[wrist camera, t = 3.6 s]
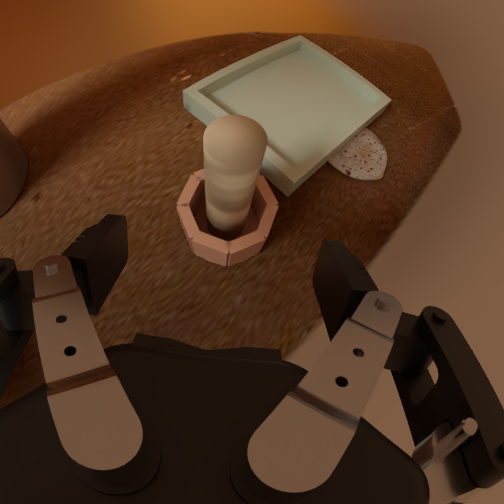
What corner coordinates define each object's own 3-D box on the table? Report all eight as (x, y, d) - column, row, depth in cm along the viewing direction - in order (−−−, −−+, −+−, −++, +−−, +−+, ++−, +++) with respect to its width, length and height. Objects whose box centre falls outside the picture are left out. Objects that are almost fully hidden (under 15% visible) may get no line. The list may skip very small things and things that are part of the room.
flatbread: (301, 144, 28) (303, 138, 27) (340, 111, 30) (343, 105, 29) (365, 198, 27) (369, 194, 26) (396, 158, 29) (400, 153, 28)
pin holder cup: (173, 205, 24) (166, 182, 20) (245, 178, 26) (250, 153, 22) (203, 278, 23) (201, 266, 19) (279, 245, 24) (291, 228, 20)
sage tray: (287, 197, 26) (294, 183, 23) (184, 107, 27) (182, 90, 25) (382, 112, 31) (391, 100, 28) (295, 49, 32) (300, 35, 30)
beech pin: (201, 213, 24) (194, 124, 13) (235, 200, 24) (251, 108, 14) (215, 246, 23) (218, 172, 13) (250, 232, 24) (278, 153, 13)
